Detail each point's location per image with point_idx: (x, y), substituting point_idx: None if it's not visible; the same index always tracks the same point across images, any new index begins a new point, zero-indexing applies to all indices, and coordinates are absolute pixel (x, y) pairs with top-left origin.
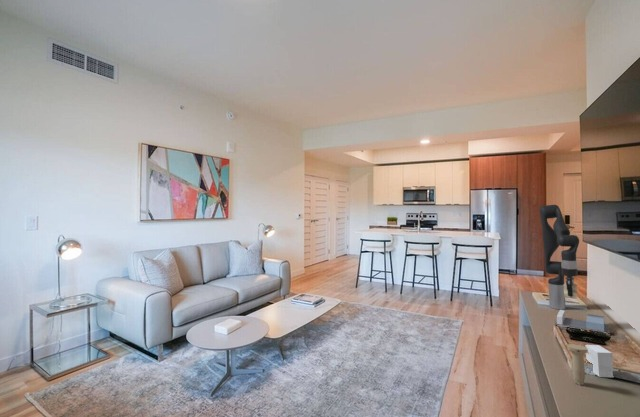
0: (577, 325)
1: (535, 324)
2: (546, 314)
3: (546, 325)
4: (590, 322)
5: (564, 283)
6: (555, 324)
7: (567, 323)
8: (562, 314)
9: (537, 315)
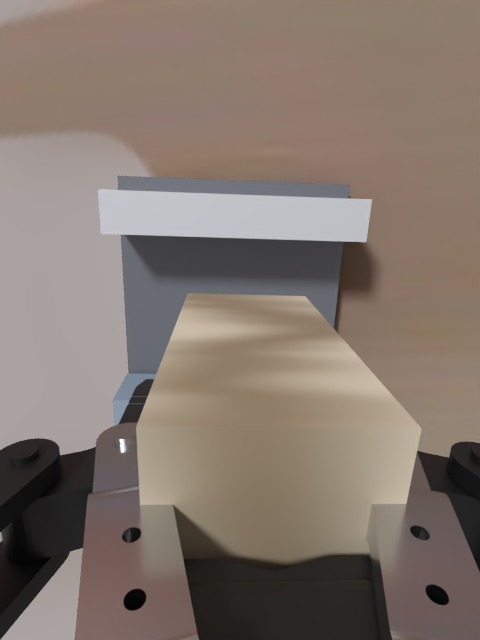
0: (176, 321)
1: (48, 20)
2: (425, 84)
3: (87, 113)
4: (115, 421)
5: (335, 444)
6: (119, 179)
7: (182, 260)
8: (203, 232)
9: (351, 6)
